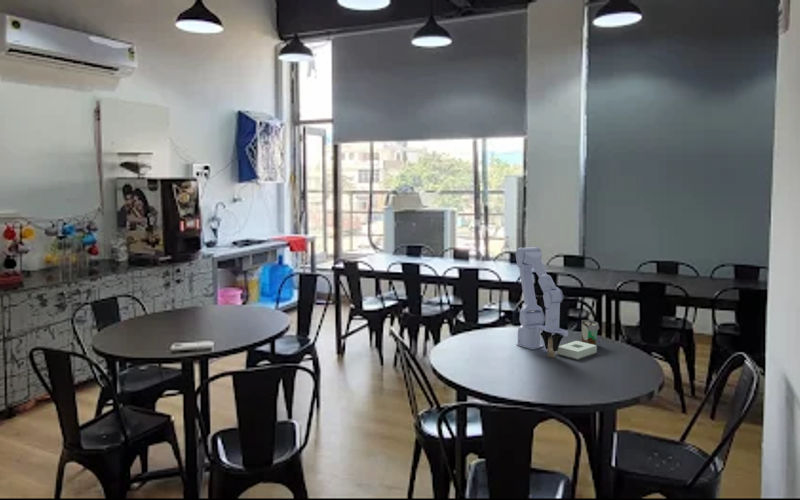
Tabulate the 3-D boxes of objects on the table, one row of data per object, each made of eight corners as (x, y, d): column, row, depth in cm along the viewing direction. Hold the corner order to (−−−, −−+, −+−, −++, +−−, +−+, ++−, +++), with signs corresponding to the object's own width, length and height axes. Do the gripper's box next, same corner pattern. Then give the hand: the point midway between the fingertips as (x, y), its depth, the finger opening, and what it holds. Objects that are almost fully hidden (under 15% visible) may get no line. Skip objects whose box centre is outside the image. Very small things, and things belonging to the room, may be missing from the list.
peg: (545, 356, 265) (546, 337, 264) (550, 355, 267) (551, 336, 266) (552, 358, 263) (552, 339, 262) (556, 356, 265) (557, 338, 264)
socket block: (557, 354, 268) (557, 346, 267) (576, 348, 277) (576, 340, 276) (577, 359, 260) (577, 351, 260) (596, 353, 269) (596, 345, 269)
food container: (602, 348, 276) (603, 326, 275) (588, 348, 276) (588, 326, 275) (594, 341, 288) (594, 319, 287) (580, 341, 288) (581, 319, 287)
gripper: (532, 316, 266) (531, 347, 267) (561, 322, 255) (560, 355, 257) (542, 313, 270) (541, 344, 272) (571, 319, 259) (570, 352, 261)
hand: (551, 349), depth 265 cm, fingers open, 3 cm apart
